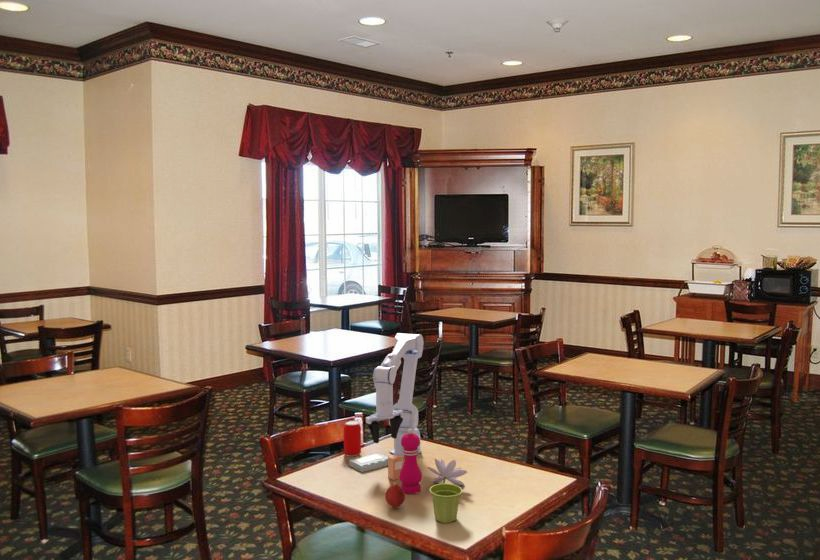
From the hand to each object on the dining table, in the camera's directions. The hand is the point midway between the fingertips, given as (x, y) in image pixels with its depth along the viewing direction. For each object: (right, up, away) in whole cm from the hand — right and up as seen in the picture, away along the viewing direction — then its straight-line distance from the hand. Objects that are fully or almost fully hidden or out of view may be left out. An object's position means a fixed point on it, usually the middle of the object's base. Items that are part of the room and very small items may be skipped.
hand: (385, 440), depth 238 cm
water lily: (+21, -12, -15) cm, 28 cm away
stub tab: (+4, -11, -7) cm, 13 cm away
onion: (+4, -13, -32) cm, 35 cm away
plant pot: (+19, -14, -39) cm, 46 cm away
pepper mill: (+9, -12, -18) cm, 23 cm away
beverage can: (-13, -9, +16) cm, 22 cm away
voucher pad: (-5, -10, +5) cm, 12 cm away
